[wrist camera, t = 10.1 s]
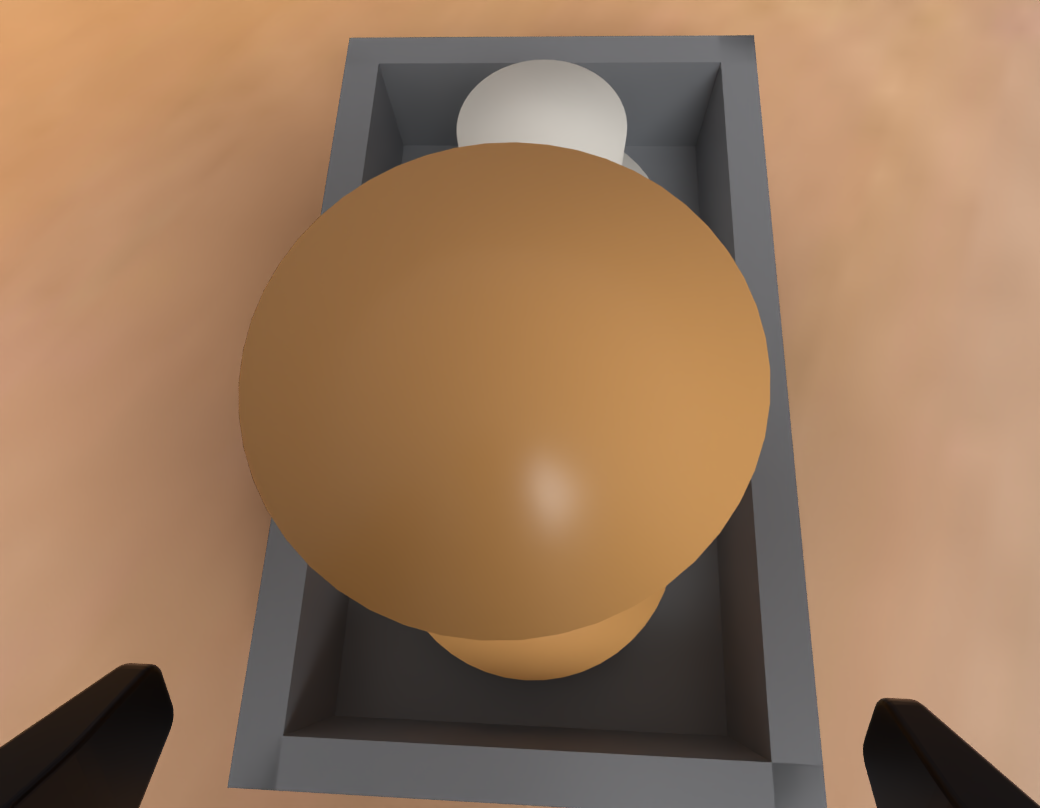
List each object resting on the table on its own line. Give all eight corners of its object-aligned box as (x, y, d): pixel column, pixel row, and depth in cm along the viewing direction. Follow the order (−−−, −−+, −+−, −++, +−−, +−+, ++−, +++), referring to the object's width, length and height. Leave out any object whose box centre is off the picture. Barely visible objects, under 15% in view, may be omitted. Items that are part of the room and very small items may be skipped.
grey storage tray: (759, 774, 17) (890, 865, 10) (304, 750, 18) (158, 820, 11) (717, 143, 24) (781, -48, 17) (385, 141, 24) (322, -42, 18)
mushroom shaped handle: (714, 572, 18) (1081, 454, 6) (499, 732, 17) (358, 1025, 4) (564, 373, 20) (586, -40, 8) (362, 506, 19) (8, 280, 6)
